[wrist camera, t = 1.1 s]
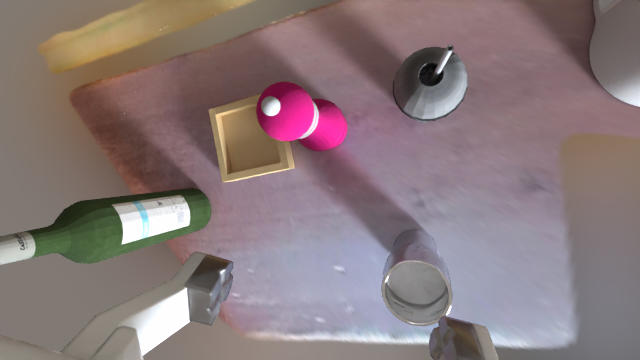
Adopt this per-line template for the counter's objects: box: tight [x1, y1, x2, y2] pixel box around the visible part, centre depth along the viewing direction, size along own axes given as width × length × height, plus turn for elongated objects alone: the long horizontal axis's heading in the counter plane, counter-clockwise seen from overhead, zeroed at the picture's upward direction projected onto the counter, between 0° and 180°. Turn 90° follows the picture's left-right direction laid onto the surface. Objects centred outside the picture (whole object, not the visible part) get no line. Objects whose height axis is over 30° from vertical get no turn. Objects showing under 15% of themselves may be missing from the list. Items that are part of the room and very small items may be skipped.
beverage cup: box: [393, 45, 468, 122], centre depth 32 cm, size 7×7×20 cm
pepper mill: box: [256, 82, 347, 151], centre depth 36 cm, size 7×7×20 cm
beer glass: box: [382, 229, 453, 326], centre depth 35 cm, size 7×7×15 cm
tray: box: [209, 93, 295, 182], centre depth 48 cm, size 12×12×2 cm
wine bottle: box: [0, 188, 211, 265], centre depth 40 cm, size 8×8×30 cm
